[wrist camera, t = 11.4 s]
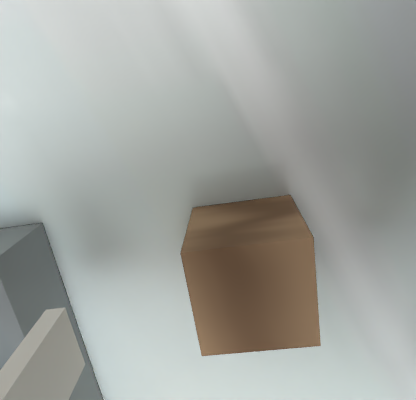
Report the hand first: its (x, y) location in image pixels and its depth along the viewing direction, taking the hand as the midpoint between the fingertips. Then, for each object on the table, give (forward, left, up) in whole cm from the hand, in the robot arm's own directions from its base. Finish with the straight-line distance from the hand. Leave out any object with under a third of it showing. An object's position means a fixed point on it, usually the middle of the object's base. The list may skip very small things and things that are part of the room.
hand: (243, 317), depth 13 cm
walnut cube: (0, 0, -6) cm, 6 cm away
